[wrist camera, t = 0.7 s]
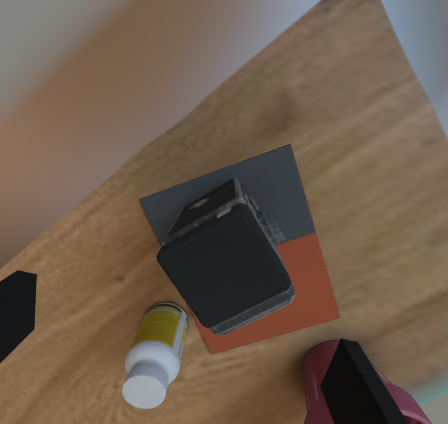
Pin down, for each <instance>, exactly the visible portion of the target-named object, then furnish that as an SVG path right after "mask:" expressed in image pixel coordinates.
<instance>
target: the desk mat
mask: <svg viewBox="0 0 448 424" xmlns="http://www.w3.org/2000/svg"><path fill="white" fill-rule="evenodd" d="M234 177H238V179H239V180H240V182H241V184H242V185H244V187H245V188H246V190H247V191H248V193H249V195H250V196H253V198H254V199H255V201H256V203H257V205H258V206H259V208H260V209H259V210H257V209H256V210H257V211H258V213H260V212H261V211H262V210H263V212H264V213H265V215H266V216H267V215H269V214H270V213H271V214H272V215H273V216H274V218H275V219H276V221H277V223H278V225H279V226H280V228H281V230H282V232H283V233H284V235H285V238H286V240H284V241H282V242H280V243H278V242H277V245H276V249H277V251H278V253H279V255H280V256H281V258H282V260H283V262H284V264H285V266H286V268H287V270H286V271H287V273H288V274H289V277H290V279H291V282H292V284H293V287H294V289H295V297H294V300H293V301H292V303H291V304H289V305H287V306H285V307H283V308H281V309H278V310H276V311H274V312H272V313H270V314H268V315H266V316H264V317H262V318H260V319H258V320H256V321H254V322H252V323H249V324H247V325H245V326H243V327H241V328H239V329H237V330H235V331H233V332H231V333H229V334H227V335H216V334H214V333H213V332H212V331H211V329H210V328H206V327H204V326H202V324H201V323H200V321H199V320H198V318H197V317H196V316H195V314H194V313H193V311H192V310H191V311H192V313H193V316H194V318H195V320H196V322H197V324H198V326H199V328H200V331H201V333H202V335H203V337H204V339H205V341H206V343H207V346H208V348H209V350H210V352H211V354H215V353H219V352H222V351H226V350H229V349H233V348H236V347H240V346H243V345H247V344H250V343H254V342H257V341H261V340H264V339H268V338H271V337H275V336H278V335H282V334H285V333H289V332H292V331H295V330H299V329H302V328H306V327H309V326H313V325H316V324H320V323H323V322H327V321H330V320H334V319H337V318H340V315H339V312H338V308H337V305H336V301H335V298H334V294H333V291H332V287H331V284H330V280H329V277H328V273H327V270H326V266H325V263H324V259H323V256H322V252H321V249H320V245H319V242H318V238H317V235H316V231H315V228H314V224H313V221H312V218H311V214H310V211H309V207H308V204H307V200H306V197H305V193H304V190H303V186H302V183H301V179H300V176H299V172H298V169H297V165H296V162H295V158H294V155H293V151H292V148H291V144H289V145H286V146H283V147H281V148H278V149H275V150H273V151H270V152H267V153H264V154H262V155H259V156H256V157H253V158H251V159H248V160H245V161H243V162H240V163H237V164H234V165H232V166H229V167H226V168H223V169H221V170H218V171H215V172H213V173H210V174H207V175H204V176H202V177H199V178H196V179H193V180H191V181H188V182H185V183H183V184H180V185H177V186H174V187H172V188H169V189H166V190H163V191H161V192H158V193H155V194H153V195H150V196H147V197H144V198H142V199H140V202H141V204H142V206H143V209H144V211H145V213H146V215H147V217H148V219H149V221H150V224H151V226H152V228H153V230H154V232H155V234H156V236H157V238H158V241H159V243H160V245H161V247H162V241H163V239H164V238H165V236H166V234H167V233H168V231H169V229H170V228H171V226H172V224H173V223H174V221H175V219H176V218H177V216H178V214H179V213H180V211H181V209H182V208H183V207H185V206H187V205H189V204H190V203H192V202H194V201H195V200H197V199H199V198H200V197H202V196H204V195H205V194H207V193H209V192H211V191H212V190H214V189H216V188H217V187H219V186H221V185H222V184H224V183H226V182H227V181H229V180H231V179H233V178H234ZM190 309H191V308H190Z"/></svg>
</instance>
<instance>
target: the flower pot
mask: <svg viewBox="0 0 448 424" xmlns="http://www.w3.org/2000/svg"><path fill="white" fill-rule="evenodd" d="M339 342H340V340H332V341H326V342H323V343H321V344H319V345H317V346H315V347H314V348H313V349H312V350H311V351H310V352H309V353H308V354H307V356H306V358H305V361H304V377H305V393H306V405H307V415H306V418H305V421H304V424H334V423H333V420H332V417H331V415H330V412H329V409H328V407H327V404H326V401H325V398H324V396H323V393H322V390H321V388H320V385H321V383H322V380H323V378H324V376H325V373H326V371H327V369H328V367H329V364H330V362H331V360H332V358H333V355H334V353H335V351H336V348H337V346H338V344H339ZM370 363H371V362H370ZM371 364H372V363H371ZM372 366H373V367H374V369H375V371H376V372H377V374H378V375H379V377H380V379H381V380H382V382H383V383H384V385H385V386H386V388H387V390H388V391H389V393H390V394H391V396H392V398H393V399H394V401H395V402H396V404H397V405H398V407H399V409H400V410H401V412H402V413H403V415H404V417H405V418H406V420H407V421H408V423H409V424H431V422H430V421H429V419H428V418H427V417H426V415H425V414H424V412H423V411H422V409H421V408H420V407H419V405H418V404H417V403H416V401H415V400H414V399H413V398H412V396H411V395H410V394H408V393H407V392H406V391H404V390H403V389H401V388H400V387H398V386H396V385H393V384H392V383H391V382H390V381H389V380H388V379H387V378H386V377H385V376H384V375H383V374H382V373H381V372H380V371H379V370H378V369H377V368H376V367H375V366H374V365H373V364H372Z"/></svg>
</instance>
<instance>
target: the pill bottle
mask: <svg viewBox="0 0 448 424" xmlns="http://www.w3.org/2000/svg"><path fill="white" fill-rule="evenodd" d="M187 328H188V318H187V315H186V314H185V312H184V311H183V310H182V309H181V308H180V307H179V306H177V305H175V304H172V303H158V304H156V305H154V306H152V307H151V308H150V309H149V310H148V311H147V312H146V314H145V316H144V318H143V321H142V323H141V325H140V327H139V329H138V332H137V334H136V336H135V338H134V341H133V343H132V345H131V347H130V350H129V352H128V354H127V357H126V360H125V369H126V373H127V376H126V378H125V381H124V384H123V387H122V394H123V397H124V398H125V400H126V401H127V402H128V403H129V404H131V405H132V406H134V407H137V408H141V409H151V408H154V407H157V406H159V405H160V404H161V403H162V402H163V400H164V399H165V396H166V392H167V389H168V385H169V384H170V383H172V382H173V381H174V379H175V378H176V376H177V374H178V372H179V369H180V364H181V359H182V354H183V349H184V343H185V338H186V333H187Z"/></svg>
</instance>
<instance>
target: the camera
mask: <svg viewBox="0 0 448 424" xmlns="http://www.w3.org/2000/svg"><path fill="white" fill-rule="evenodd" d="M256 209H257V210H259V209H260V208H259V206H258V205H257V203H256V201H255V199H254V198H253V196H250V195H249V193H248V191H247V190H246V188H245V187H244V185H242V184H241V182H240V180H239V179H238V177H234V178H233V179H231V180H229V181H227V182H226V183H224V184H222V185H221V186H219V187H217V188H216V189H214V190H212V191H211V192H209V193H207V194H205V195H204V196H202V197H200V198H199V199H197V200H195V201H194V202H192V203H190V204H189V205H187V206H185V207H183V208H182V209H181V211H180V213H179V214H178V216H177V218H176V219H175V221H174V223H173V224H172V226H171V228H170V229H169V231H168V233H167V234H166V236H165V238H164V239H163V241H162V248H161V249H160V251H159V252H158V254H157V261H158V263H159V264H160V266H161V267H162V268H163V270H164V271H165V273H166V274H167V276H168V277H169V278H170V280H171V281H172V283H173V284H174V286H175V287H176V288H177V290H178V291H179V293H180V294H181V296H182V297H183V298H184V300H185V301H186V303H187V304H188V306H189V307H190V308H191V310H192V311H193V313H194V314H195V316H196V317H197V318H198V320H199V321H200V323H201V324H202V326H204V327H206V328H210V329H211V331H212V332H213V333H214V334H216V335H227V334H229V333H231V332H233V331H235V330H237V329H239V328H241V327H243V326H245V325H247V324H249V323H252V322H254V321H256V320H258V319H260V318H262V317H264V316H266V315H268V314H270V313H272V312H274V311H276V310H278V309H281V308H283V307H285V306H287V305H289V304H291V303H292V301H293V300H294V297H295V289H294V287H293V284H292V282H291V279H290V277H289V274H288V273H287V271H286V270H287V268H286V266H285V264H284V262H283V260H282V258H281V256H280V255H279V253H278V251H277V249H276V245H277V242H278V243H280V242H282V241H284V240H286V238H285V235H284V233H283V232H282V230H281V228H280V226H279V225H278V223H277V221H276V219H275V218H274V216H273V215H272V214H271V213H270V214H269V215H267V216H266V215H265V213H264V212H263V210H262V211H261V212H260V213H258V211H257V210H256Z"/></svg>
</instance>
